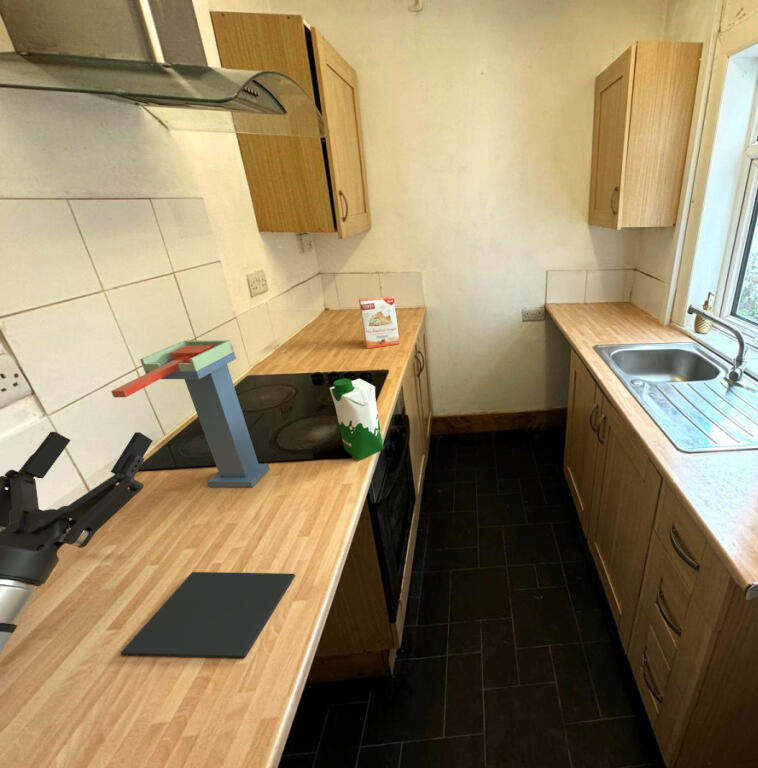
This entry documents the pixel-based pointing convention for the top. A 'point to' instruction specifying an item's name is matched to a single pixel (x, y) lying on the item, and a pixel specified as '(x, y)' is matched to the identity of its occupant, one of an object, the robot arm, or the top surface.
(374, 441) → the milk carton
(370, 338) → the cracker box
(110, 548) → the top surface
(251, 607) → the mat
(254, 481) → the stand
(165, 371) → the red toy mallet
